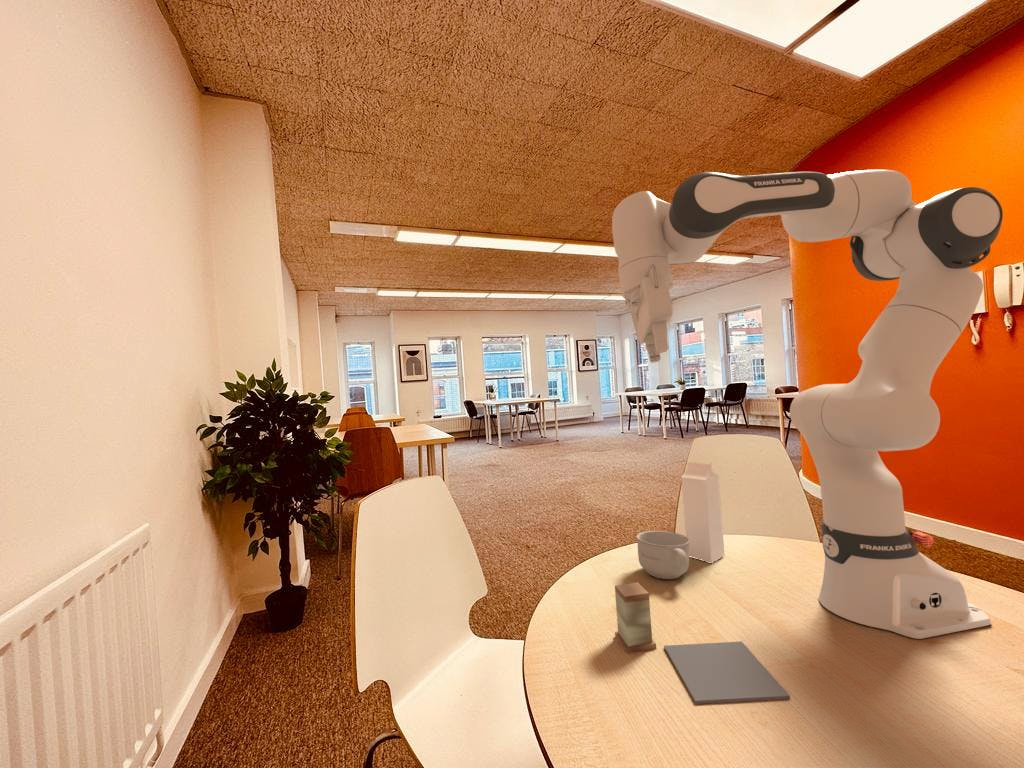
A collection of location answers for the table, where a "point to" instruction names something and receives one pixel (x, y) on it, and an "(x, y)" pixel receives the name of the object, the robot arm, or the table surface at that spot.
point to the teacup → (663, 553)
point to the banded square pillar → (633, 618)
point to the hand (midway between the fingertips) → (658, 357)
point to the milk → (702, 512)
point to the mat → (723, 673)
